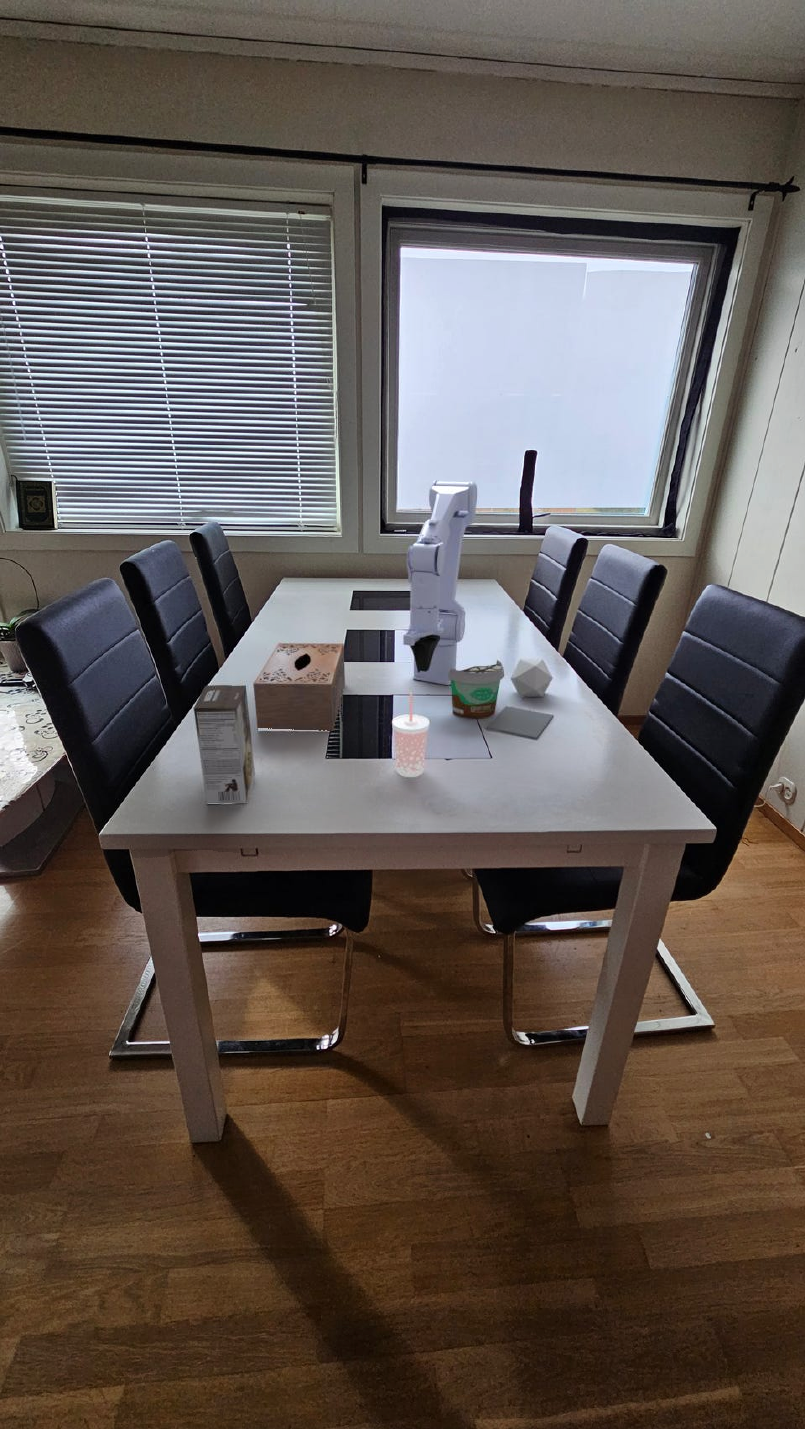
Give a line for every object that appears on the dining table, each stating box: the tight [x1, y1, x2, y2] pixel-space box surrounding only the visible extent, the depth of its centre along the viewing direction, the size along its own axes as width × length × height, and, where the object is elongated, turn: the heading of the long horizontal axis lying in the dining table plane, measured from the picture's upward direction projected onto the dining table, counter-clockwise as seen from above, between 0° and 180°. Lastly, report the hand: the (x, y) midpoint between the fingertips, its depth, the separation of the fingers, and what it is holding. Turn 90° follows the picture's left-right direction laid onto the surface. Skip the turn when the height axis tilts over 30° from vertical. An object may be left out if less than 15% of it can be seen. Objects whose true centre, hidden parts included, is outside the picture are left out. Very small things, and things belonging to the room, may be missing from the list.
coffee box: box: [193, 684, 256, 804], centre depth 94 cm, size 9×6×16 cm
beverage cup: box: [391, 692, 430, 778], centre depth 101 cm, size 6×6×14 cm
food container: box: [448, 659, 505, 720], centre depth 124 cm, size 12×6×10 cm, turn 117°
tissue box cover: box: [252, 642, 346, 732], centre depth 128 cm, size 26×14×10 cm, turn 0°
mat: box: [485, 705, 554, 740], centre depth 122 cm, size 10×12×1 cm
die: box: [510, 658, 554, 698], centre depth 135 cm, size 8×9×10 cm
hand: (423, 670), depth 129 cm, fingers closed
